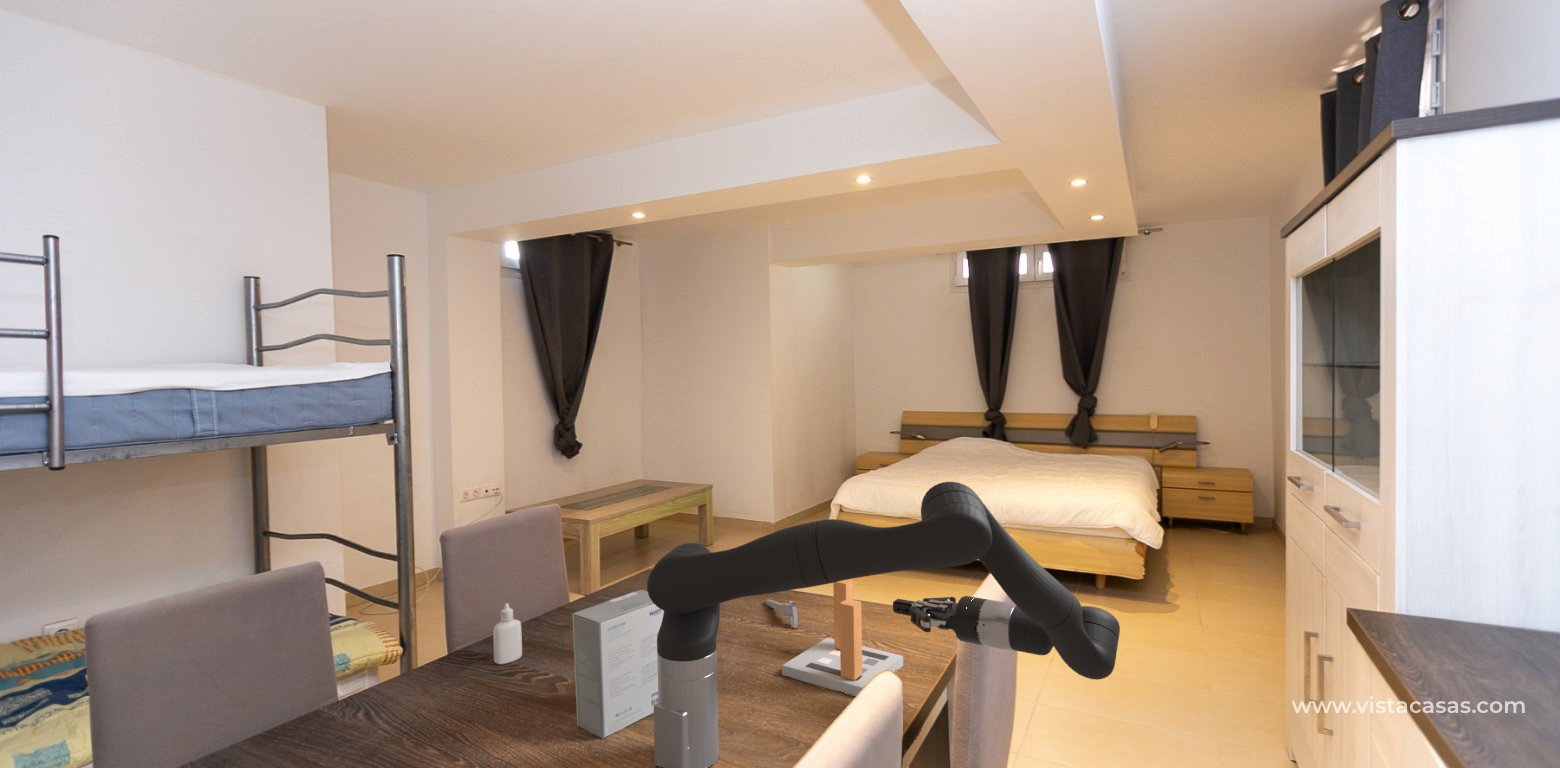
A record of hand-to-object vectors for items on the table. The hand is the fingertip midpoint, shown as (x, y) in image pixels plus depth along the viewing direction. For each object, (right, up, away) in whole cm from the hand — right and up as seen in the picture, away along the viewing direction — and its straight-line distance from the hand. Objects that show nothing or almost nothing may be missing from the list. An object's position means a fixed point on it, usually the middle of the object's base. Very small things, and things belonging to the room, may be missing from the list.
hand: (894, 605), depth 131 cm
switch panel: (-8, -17, +13) cm, 23 cm away
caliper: (-21, -17, +46) cm, 53 cm away
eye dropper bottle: (-78, -18, +21) cm, 83 cm away
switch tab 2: (-7, -15, +6) cm, 18 cm away
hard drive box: (-48, -19, -4) cm, 52 cm away
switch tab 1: (-8, -15, +19) cm, 25 cm away
